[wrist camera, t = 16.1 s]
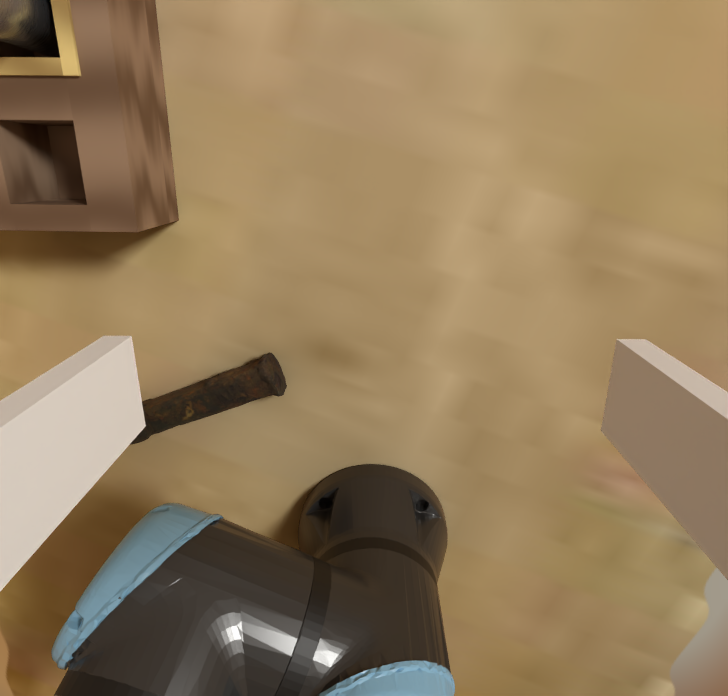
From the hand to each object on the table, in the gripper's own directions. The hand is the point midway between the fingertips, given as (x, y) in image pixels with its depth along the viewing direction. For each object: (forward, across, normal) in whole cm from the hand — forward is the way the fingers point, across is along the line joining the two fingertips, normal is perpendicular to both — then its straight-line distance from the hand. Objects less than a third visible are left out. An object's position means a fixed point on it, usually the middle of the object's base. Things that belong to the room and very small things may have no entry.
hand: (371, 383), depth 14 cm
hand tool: (+32, +17, +16) cm, 40 cm away
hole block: (+32, +22, -10) cm, 40 cm away
